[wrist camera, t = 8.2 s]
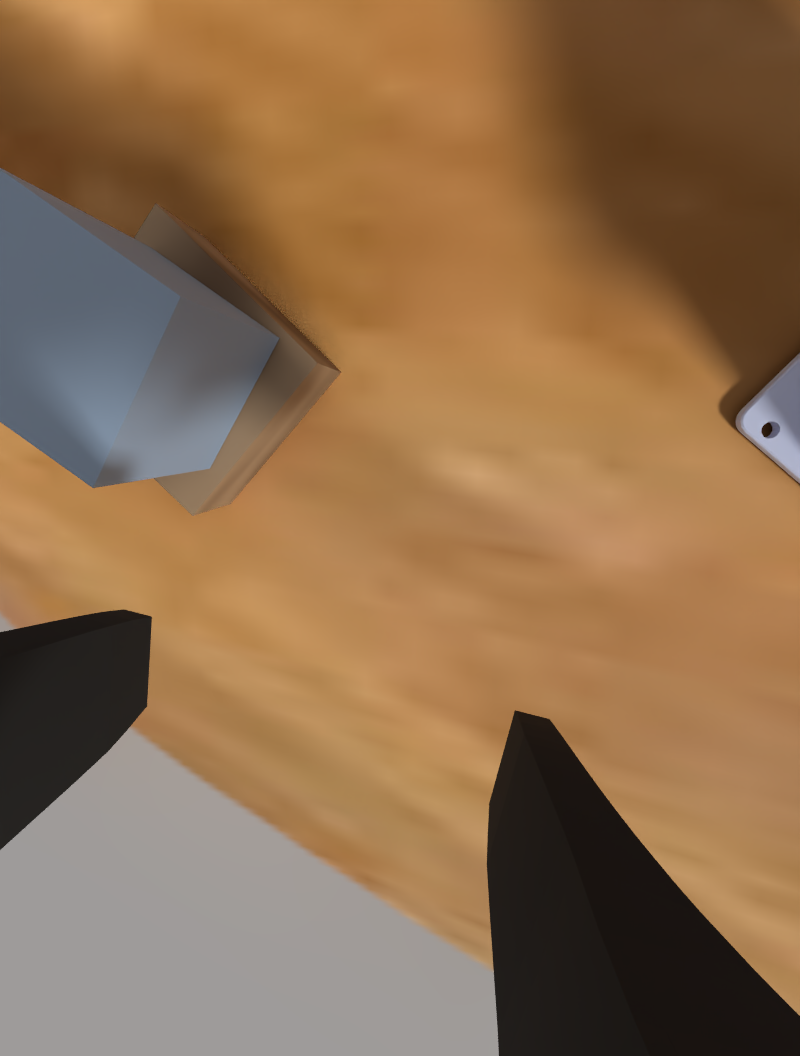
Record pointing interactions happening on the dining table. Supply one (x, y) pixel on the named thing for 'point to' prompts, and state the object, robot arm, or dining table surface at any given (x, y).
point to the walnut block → (277, 393)
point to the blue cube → (114, 346)
